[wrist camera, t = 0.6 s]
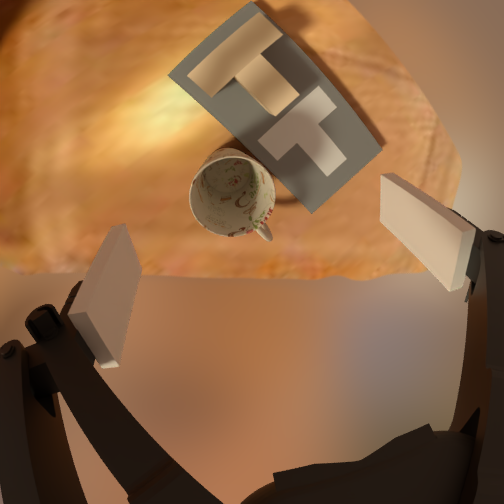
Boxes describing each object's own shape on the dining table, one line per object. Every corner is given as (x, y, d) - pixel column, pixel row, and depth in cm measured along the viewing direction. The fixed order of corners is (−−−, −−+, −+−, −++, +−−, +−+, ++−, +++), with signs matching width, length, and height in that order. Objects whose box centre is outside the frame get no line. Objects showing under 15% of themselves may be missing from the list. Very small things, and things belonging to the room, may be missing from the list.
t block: (189, 76, 31) (186, 75, 28) (254, 19, 28) (259, 11, 25) (248, 131, 35) (252, 137, 32) (310, 76, 33) (321, 75, 29)
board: (169, 75, 32) (167, 75, 31) (249, 3, 28) (251, 0, 27) (308, 209, 43) (311, 213, 41) (377, 147, 39) (382, 149, 38)
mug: (233, 124, 36) (241, 137, 27) (291, 199, 42) (314, 233, 33) (179, 167, 38) (171, 193, 29) (241, 236, 44) (250, 278, 35)
